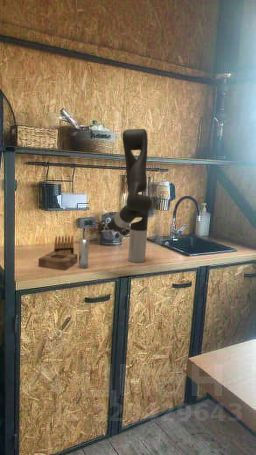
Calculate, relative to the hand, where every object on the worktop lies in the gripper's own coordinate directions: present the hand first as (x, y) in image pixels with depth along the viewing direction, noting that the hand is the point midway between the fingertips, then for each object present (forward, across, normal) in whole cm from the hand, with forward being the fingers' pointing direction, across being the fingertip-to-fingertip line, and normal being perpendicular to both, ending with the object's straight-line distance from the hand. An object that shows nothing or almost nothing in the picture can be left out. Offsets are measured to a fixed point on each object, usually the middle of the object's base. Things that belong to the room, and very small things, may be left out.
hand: (107, 234), depth 179 cm
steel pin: (+14, +6, +13) cm, 20 cm away
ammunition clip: (+32, +12, +2) cm, 34 cm away
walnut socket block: (+22, +17, +10) cm, 29 cm away
